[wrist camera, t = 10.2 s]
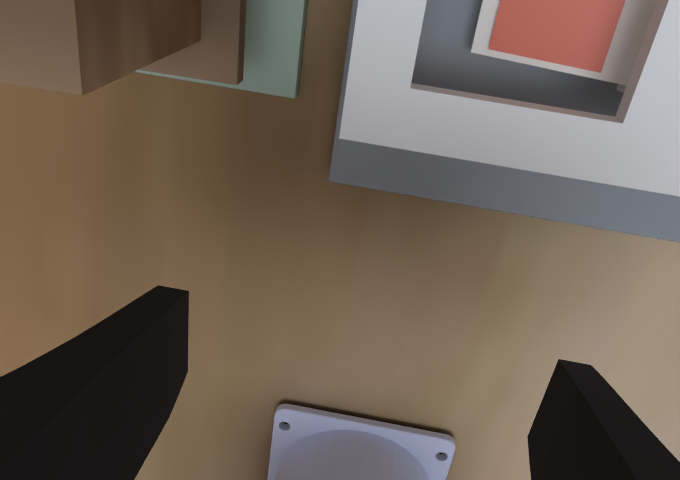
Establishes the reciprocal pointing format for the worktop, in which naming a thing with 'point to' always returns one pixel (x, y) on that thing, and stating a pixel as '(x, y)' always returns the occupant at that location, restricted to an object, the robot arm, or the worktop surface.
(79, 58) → the brown block
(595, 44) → the rocker switch
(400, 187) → the breaker housing
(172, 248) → the worktop surface
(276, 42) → the mat
